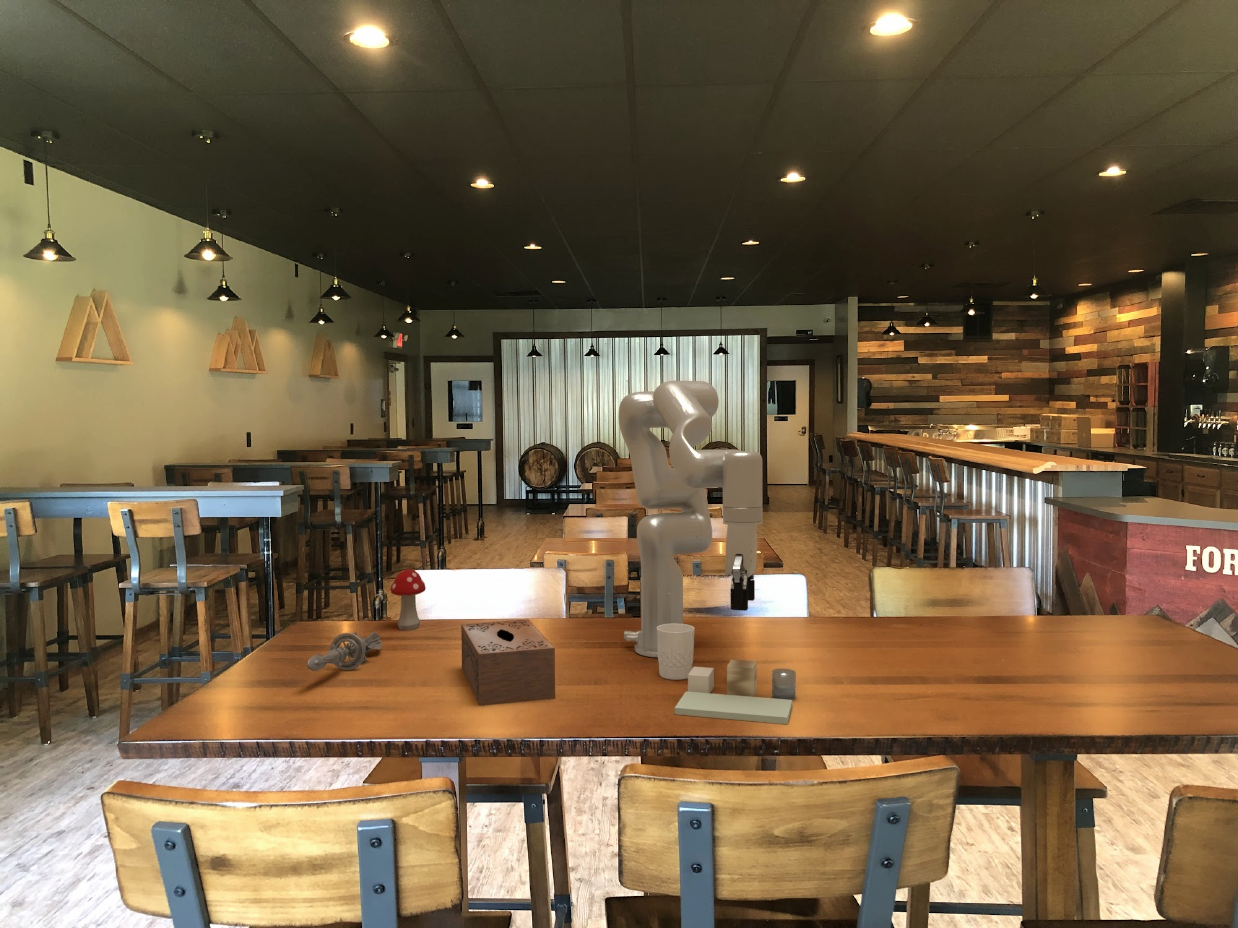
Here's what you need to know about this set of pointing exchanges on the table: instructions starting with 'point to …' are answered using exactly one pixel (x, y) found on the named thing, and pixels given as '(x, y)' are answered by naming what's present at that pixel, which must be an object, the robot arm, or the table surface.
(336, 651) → the spaceship
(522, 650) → the tissue box cover
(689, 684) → the white block
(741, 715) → the sage board
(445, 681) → the table surface
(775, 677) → the metal cylinder
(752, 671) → the maple block
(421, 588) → the decorative mushroom
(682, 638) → the white cup
